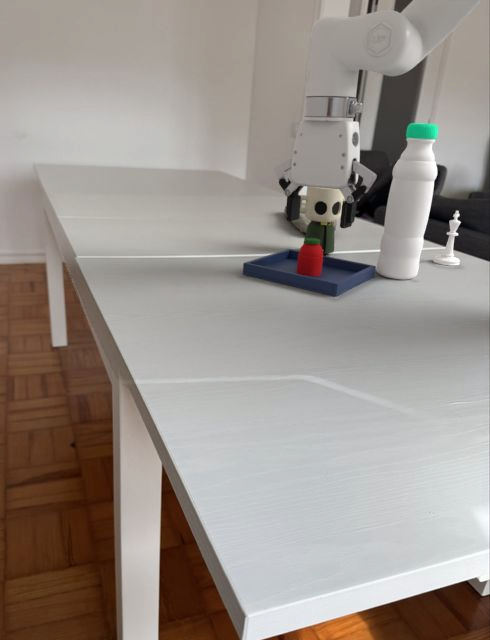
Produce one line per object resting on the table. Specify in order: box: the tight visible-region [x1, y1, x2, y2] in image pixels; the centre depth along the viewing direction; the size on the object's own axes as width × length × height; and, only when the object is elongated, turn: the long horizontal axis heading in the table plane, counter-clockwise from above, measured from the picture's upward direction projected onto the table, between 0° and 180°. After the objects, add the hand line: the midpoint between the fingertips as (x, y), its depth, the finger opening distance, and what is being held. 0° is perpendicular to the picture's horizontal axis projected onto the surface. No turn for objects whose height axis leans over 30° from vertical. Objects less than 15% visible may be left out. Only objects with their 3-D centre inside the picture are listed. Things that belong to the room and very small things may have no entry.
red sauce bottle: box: [297, 237, 324, 276], centre depth 93 cm, size 4×4×6 cm
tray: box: [242, 248, 377, 297], centre depth 94 cm, size 17×15×2 cm
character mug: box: [299, 186, 346, 254], centre depth 109 cm, size 11×7×13 cm, turn 99°
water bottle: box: [375, 122, 439, 281], centre depth 93 cm, size 7×7×25 cm
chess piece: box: [432, 210, 462, 267], centre depth 106 cm, size 5×5×10 cm
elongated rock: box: [283, 202, 338, 234], centre depth 139 cm, size 35×5×10 cm
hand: (318, 223), depth 91 cm, fingers open, 9 cm apart
